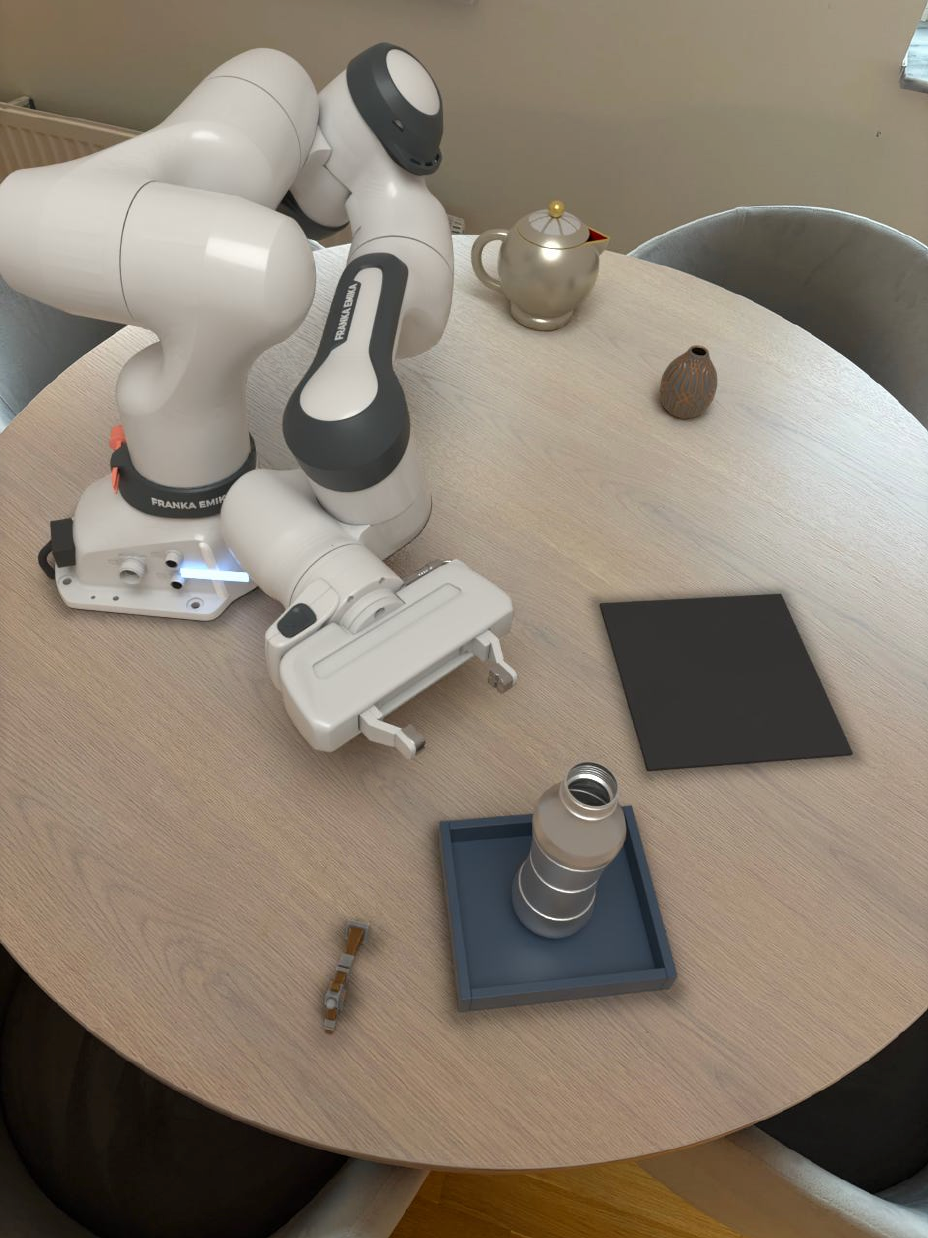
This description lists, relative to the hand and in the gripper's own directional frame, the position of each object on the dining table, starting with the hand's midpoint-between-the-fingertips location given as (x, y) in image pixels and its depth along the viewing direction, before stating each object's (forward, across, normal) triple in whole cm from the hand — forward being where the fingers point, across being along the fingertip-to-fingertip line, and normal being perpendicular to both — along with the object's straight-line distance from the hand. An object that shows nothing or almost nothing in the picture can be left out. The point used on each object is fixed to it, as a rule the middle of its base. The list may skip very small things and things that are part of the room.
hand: (465, 717), depth 72 cm
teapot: (-51, -59, -14) cm, 80 cm away
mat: (+6, -30, -14) cm, 34 cm away
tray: (+12, 0, -14) cm, 18 cm away
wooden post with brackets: (+6, +16, -14) cm, 22 cm away
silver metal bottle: (+12, 0, -14) cm, 18 cm away
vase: (-24, -60, -14) cm, 66 cm away
